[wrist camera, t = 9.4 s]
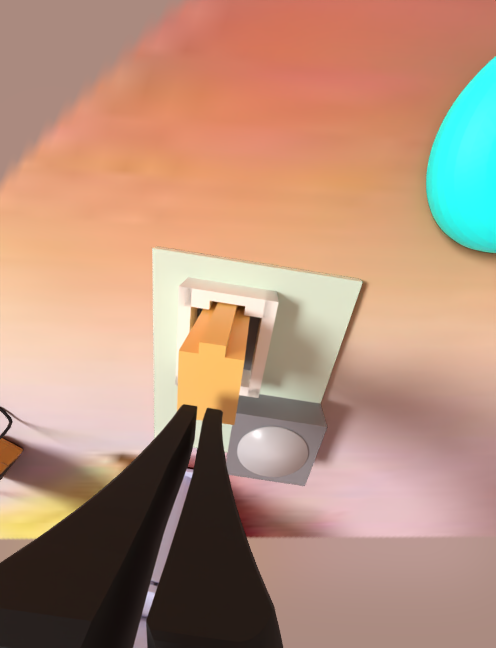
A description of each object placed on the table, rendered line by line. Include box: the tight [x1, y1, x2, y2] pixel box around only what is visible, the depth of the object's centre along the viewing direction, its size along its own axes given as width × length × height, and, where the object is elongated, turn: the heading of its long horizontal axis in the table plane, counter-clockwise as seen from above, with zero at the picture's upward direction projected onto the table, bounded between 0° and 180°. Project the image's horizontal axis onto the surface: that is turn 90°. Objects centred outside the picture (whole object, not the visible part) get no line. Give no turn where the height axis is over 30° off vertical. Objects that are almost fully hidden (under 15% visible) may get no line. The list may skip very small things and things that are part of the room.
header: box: [175, 277, 279, 398], centre depth 18 cm, size 8×6×2 cm
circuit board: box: [152, 246, 363, 452], centre depth 21 cm, size 18×14×1 cm
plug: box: [177, 301, 250, 425], centre depth 15 cm, size 5×3×7 cm, turn 172°
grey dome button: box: [226, 394, 327, 486], centre depth 21 cm, size 7×7×3 cm
